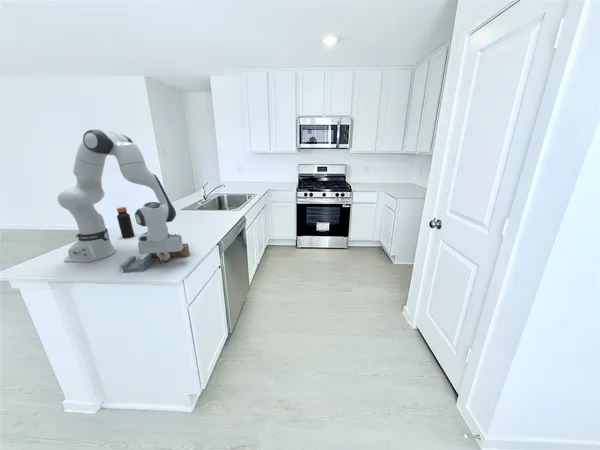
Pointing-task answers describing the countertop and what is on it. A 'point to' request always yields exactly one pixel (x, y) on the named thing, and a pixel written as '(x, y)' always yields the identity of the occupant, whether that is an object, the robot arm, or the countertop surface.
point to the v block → (136, 264)
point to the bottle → (125, 223)
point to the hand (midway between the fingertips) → (164, 259)
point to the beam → (175, 253)
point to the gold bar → (167, 257)
